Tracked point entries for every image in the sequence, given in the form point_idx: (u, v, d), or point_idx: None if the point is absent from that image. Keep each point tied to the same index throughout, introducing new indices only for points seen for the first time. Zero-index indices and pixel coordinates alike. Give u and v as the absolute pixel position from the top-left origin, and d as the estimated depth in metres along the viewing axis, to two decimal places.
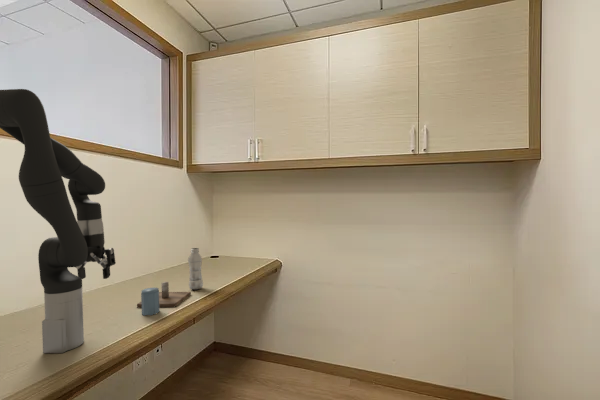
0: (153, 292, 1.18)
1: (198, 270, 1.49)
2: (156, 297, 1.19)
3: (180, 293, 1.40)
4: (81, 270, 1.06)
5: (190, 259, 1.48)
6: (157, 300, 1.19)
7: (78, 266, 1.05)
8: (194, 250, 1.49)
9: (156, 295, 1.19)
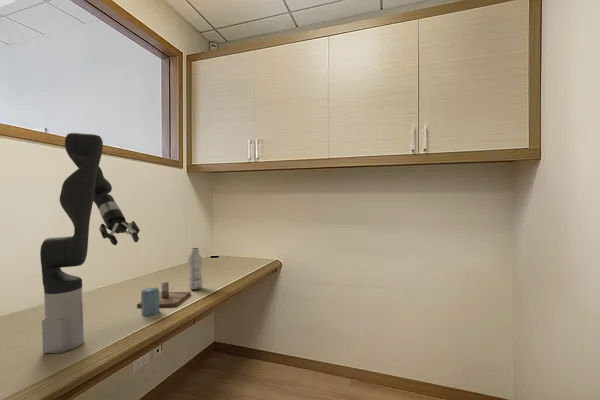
0: (153, 292, 1.18)
1: (198, 270, 1.49)
2: (156, 297, 1.19)
3: (180, 293, 1.40)
4: None
5: (190, 259, 1.48)
6: (157, 300, 1.19)
7: (112, 233, 1.24)
8: (194, 250, 1.49)
9: (156, 295, 1.19)
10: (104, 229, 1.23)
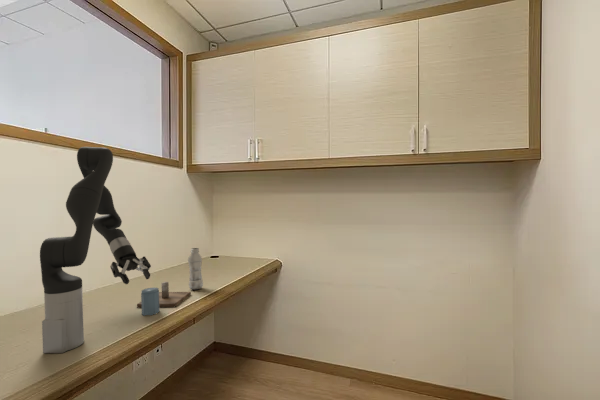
0: (153, 292, 1.18)
1: (198, 270, 1.49)
2: (156, 297, 1.19)
3: (180, 293, 1.40)
4: None
5: (190, 259, 1.48)
6: (157, 300, 1.19)
7: (123, 272, 1.22)
8: (194, 250, 1.49)
9: (156, 295, 1.19)
10: (115, 268, 1.21)
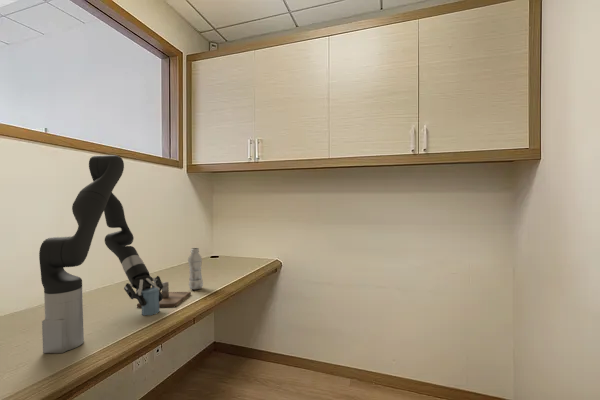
0: (153, 292, 1.18)
1: (198, 270, 1.49)
2: (156, 297, 1.19)
3: (180, 293, 1.40)
4: None
5: (190, 259, 1.48)
6: (157, 300, 1.19)
7: (140, 293, 1.17)
8: (194, 250, 1.49)
9: (156, 295, 1.19)
10: (131, 289, 1.16)
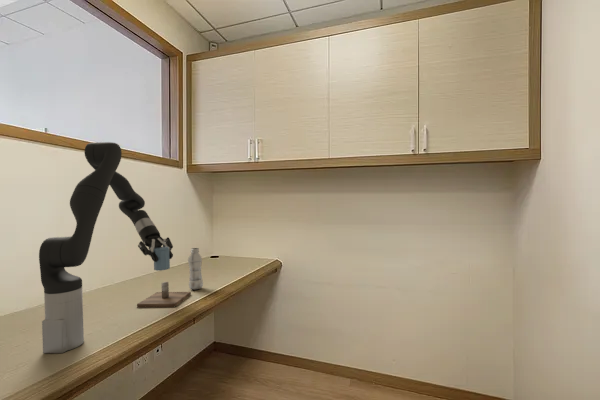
0: (164, 249, 1.30)
1: (198, 270, 1.49)
2: (167, 254, 1.31)
3: (180, 293, 1.40)
4: None
5: (190, 259, 1.48)
6: (168, 257, 1.31)
7: (152, 250, 1.29)
8: (194, 250, 1.49)
9: (167, 252, 1.31)
10: (144, 247, 1.28)
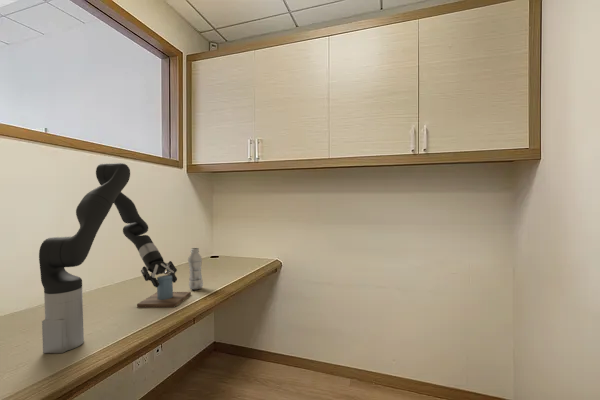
0: (168, 279, 1.32)
1: (198, 270, 1.49)
2: (170, 283, 1.33)
3: (180, 293, 1.40)
4: None
5: (190, 259, 1.48)
6: (171, 286, 1.34)
7: (153, 275, 1.31)
8: (194, 250, 1.49)
9: (170, 281, 1.33)
10: (146, 272, 1.30)
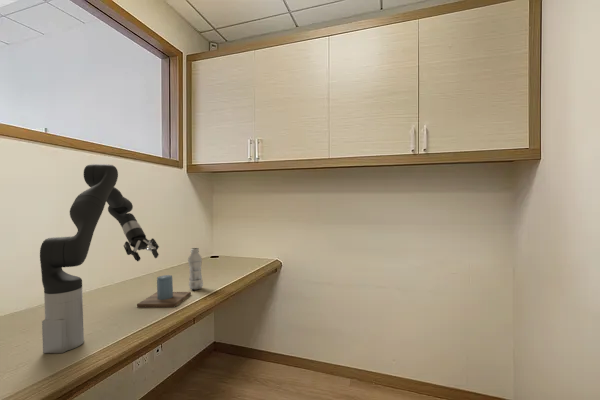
0: (168, 279, 1.32)
1: (198, 270, 1.49)
2: (170, 283, 1.33)
3: (180, 293, 1.40)
4: None
5: (190, 259, 1.48)
6: (171, 286, 1.34)
7: (135, 250, 1.38)
8: (194, 250, 1.49)
9: (170, 281, 1.33)
10: (128, 246, 1.37)
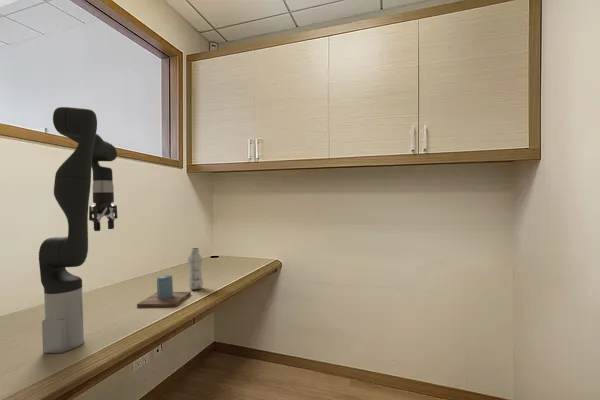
0: (168, 279, 1.32)
1: (198, 270, 1.49)
2: (170, 283, 1.33)
3: (180, 293, 1.40)
4: None
5: (190, 259, 1.48)
6: (171, 286, 1.34)
7: (99, 219, 1.25)
8: (194, 250, 1.49)
9: (170, 281, 1.33)
10: (95, 213, 1.23)
